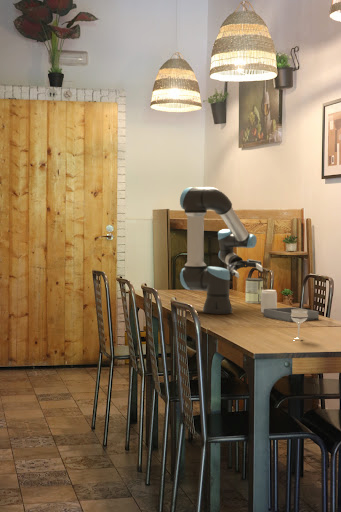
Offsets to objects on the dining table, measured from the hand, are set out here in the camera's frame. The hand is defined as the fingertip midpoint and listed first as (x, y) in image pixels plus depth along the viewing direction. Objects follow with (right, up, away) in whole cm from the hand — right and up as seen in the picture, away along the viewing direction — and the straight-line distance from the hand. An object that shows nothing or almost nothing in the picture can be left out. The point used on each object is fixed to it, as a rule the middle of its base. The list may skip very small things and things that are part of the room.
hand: (250, 272), depth 376 cm
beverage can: (+9, -21, -4) cm, 24 cm away
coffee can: (+7, -19, +46) cm, 50 cm away
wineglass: (+9, -25, -89) cm, 93 cm away
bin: (+18, -22, -22) cm, 36 cm away
